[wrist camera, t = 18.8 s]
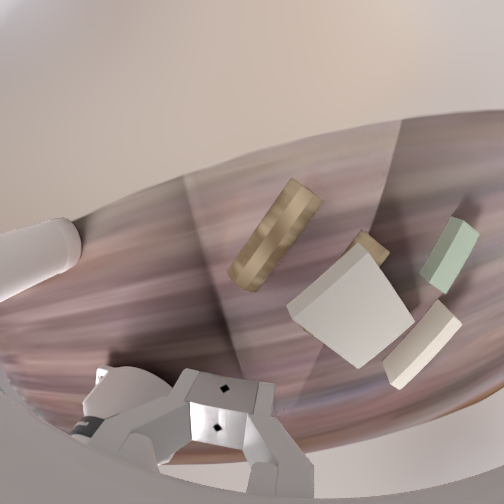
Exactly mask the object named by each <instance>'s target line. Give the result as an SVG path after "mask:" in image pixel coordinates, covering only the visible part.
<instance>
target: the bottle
mask: <svg viewBox="0 0 504 504" xmlns="http://www.w3.org/2000/svg"><path fill="white" fill-rule="evenodd" d="M80 256H81V240H80V236H79V233H78V231H77V229H76V227H75V226H74V224H73V223H72V222H71V221H70V220H68V219H65V218H58V219H51V220H47V221H44V222H42V223H38V224H35V225H31V226H27V227H24V228H20V229H16V230H13V231H9V232H6V233H3V234H0V302H2V301H4V300H6V299H7V298H9V297H11V296H13V295H15V294H17V293H19V292H21V291H23V290H25V289H27V288H29V287H31V286H33V285H35V284H37V283H40V282H42V281H44V280H46V279H48V278H50V277H52V276H54V275H56V274H58V273H62V272H64V271H66V270H68V269H69V268H71V267H73V266H74V265H76V264H77V263H78V261H79V259H80Z"/></svg>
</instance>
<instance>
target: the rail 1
mask: <svg viewBox="0 0 504 504" xmlns="http://www.w3.org/2000/svg"><path fill="white" fill-rule="evenodd" d="M323 201H324V200H322V199H321V198H320V197H318V196H317V195H316V194H314V193H313V192H312V191H310V190H309V189H307V188H306V187H304V186H303V185H302V184H300V183H299V182H297V181H296V180H294V179H293V178H291V179H290V180H289V182H288V183H287V185H286V186H285V187H284V189H283V190H282V192H281V193H280V195H279V196H278V198H277V199H276V200H275V202H274V203H273V205H272V206H271V208H270V209H269V211H268V212H267V213H266V215H265V216H264V218H263V219H262V221H261V222H260V224H259V225H258V226H257V228H256V229H255V231H254V232H253V234H252V235H251V237H250V238H249V240H248V241H247V242H246V244H245V245H244V247H243V248H242V250H241V251H240V253H239V254H238V256H237V257H236V259H235V260H234V261H233V263H232V264H231V266H230V267H229V269H228V270H227V273H228V276H229V277H230V279H231V280H232V281H233V282H234V284H236V285H237V286H239V287H240V288H242V289H243V290H246V291H249V292H257V291H258V290H259V288H260V287H261V286H262V284H263V283H264V282H265V280H266V279H267V278H268V276H269V275H270V274H271V272H272V271H273V270H274V268H275V267H276V266H277V264H278V263H279V262H280V260H281V259H282V258H283V256H284V255H285V254H286V252H287V251H288V249H289V248H290V247H291V245H292V244H293V243H294V241H295V240H296V239H297V237H298V236H299V234H300V233H301V232H302V230H303V229H304V228H305V226H306V225H307V223H308V222H309V221H310V219H311V218H312V217H313V215H314V214H315V212H316V211H317V210H318V208H319V207H320V205H321V204H322V203H323Z"/></svg>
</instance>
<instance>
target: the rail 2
mask: <svg viewBox="0 0 504 504" xmlns="http://www.w3.org/2000/svg"><path fill="white" fill-rule="evenodd" d="M356 243H359V244H360V245H361V246H362V247H363V248H364V249H365V250H366V251H368V252H369V254H370V255H371V257H372V258H373V259H374V261H375V262H376V264H377V265H378V266H379V267H380V266H381V264H382V263H383V262H384V260H385V259H386V258H387V256H388V255H389V254H390V252H389V251H388V250H387V249H386V248H384V247H383V246H382V245H381V244H380V243H378V242H377V241H376V240H375V239H373V238H372V237H371V236H370V235H368V234H367V233H366V232H365V231H363V230H362V229H361V230H360V232H359V233H358V234H357V236H356V237H355V238H354V240H353V241H352V242H351V244H350V245H349V246H348V248H347V249H346V250H345V252H344V253H343V254H342V256H343V255H345V254H346V253H347V252H348V251H349V250H350V249H351V248H352V247H353V246H354V245H355V244H356ZM342 256H341V257H342ZM341 257H340V258H341ZM340 258H339V259H340ZM339 259H338V260H339ZM300 326H301V325H300ZM301 328H303V327H302V326H301ZM303 330H304V331H306V332H307V333H309V334H310V335H312V334H311V333H310V332H308V331H307V330H306V329H305V328H303ZM312 336H314V335H312Z"/></svg>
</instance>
